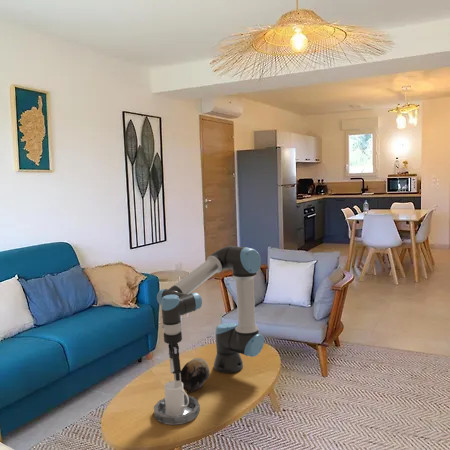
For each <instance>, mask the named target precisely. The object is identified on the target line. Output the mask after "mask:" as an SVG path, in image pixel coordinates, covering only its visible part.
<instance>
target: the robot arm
mask: <svg viewBox="0 0 450 450" xmlns="http://www.w3.org/2000/svg"><path fill="white" fill-rule="evenodd" d="M261 266H262V258H261V255H260V253H259V252H258V251H257V250H256V249H255V248H250V247H248V246H247V247H244V246H235V245H227V246H224V247H222V248H219V249H218V250H216V251H214V252H213V253H211V254H210V255H208V256H207V258H206V260H205V261H204V262H203V263H201V264H200V265H199V266H198V267H196V268H194V270H191V272H190V273H188V274H187V275H185V276H184V277H183V278H181V279H180V280H179V281H178V282H175V283H174V284H173V285H172V286H171V287H170V288H168V289H167V288H162V289H160V290H159V291H158V293H156V302H157V303H158V304H159V305H160V308H161V317H162V325H161V329H162V330H163V342H164V343H165V344H167V345H168V356H169V365H170V367H169V368H170V374H173V379H174V380H173V381H174V383H175V388H178V387H182V386H181V370H182V368H181V359H180V351H179V350H180V347H179V346H180V345H179V343H180V342H182V340H183V334H182V320H181V319H182V318H181V316H184V315H186V314H189V313H192V312H195V311H197V310H199V309H200V308H202V305H203V299H202V296H201V295H200V294H199V293H198V292H193V291H195V290H196V289H197V288H198V287H200V286H201V285H203V284H204V283H205V282H206V281H207V280H208V279H210V278H211V277H213V276H214V275H215V274H216V273H217V274H219V273H221V272H222V271H225V270H231V271H232V277H234V278H235V282H236V283H235V284H236V286H235V287H236V304H237V305H236V306H237V307H236V309H237V322H232V321H231V322H224V323H221V324H217V326H216V328H215V345H216V347H215V348H216V355H215V359H214V362H213V369H214V370H215V372H218V373H221V374H222V373H223V374H232V373H233V374H234V373H238V372H240V371H241V370H242V369H243V367H244V362H243V358H242V357H241V355H245V356H246V357H251V358H254V357H257V356H258V355H259V354H260V353H261V352H262V349H263V347H264V345H265V339H264V336H263V335H262V334H261V333H260V329H259V326H258V325H257V324H256V311H255V309H256V308H255V307H256V305H255V285H254V284H255V283H254V282H255V279H254V278H255V277H256V276H257V273H258V272H259V271H260V269H261Z"/></svg>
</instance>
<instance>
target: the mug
mask: <svg viewBox="0 0 450 450" xmlns="http://www.w3.org/2000/svg"><path fill="white" fill-rule="evenodd" d="M181 386H182V387H178V388H175V383H174V380H171V381H168V382H166V383H165V384H164V388H163V389H164V398H165V406H166V410H165V413H166V415H168V416H179V415H182V414H183V413H184V412H185V407H187V406H188V404H189V397H188V396H189V395H188V394H187V393H188V392H187V391H185V390H184V389H183V383H182V382H181ZM184 395H186V397H187V401H188V402H187V404H186V405H184Z"/></svg>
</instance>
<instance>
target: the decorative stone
mask: <svg viewBox="0 0 450 450" xmlns="http://www.w3.org/2000/svg"><path fill="white" fill-rule="evenodd" d="M210 374H211V373H210V366H209V363H208V362H207V361H206V359H204V358H202V357H195V358H193V359H191V360H189V361H188V362H186V364H184V365H183V367H182V368H181V382H182V383H183V389H184V391H185V392H186V393H194V392H196V391H198V390H200V389H201V388H202V386H203V385H204V383H205V382H206V381H207V380H208V379H209V378H210Z"/></svg>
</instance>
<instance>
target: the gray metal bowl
mask: <svg viewBox="0 0 450 450" xmlns="http://www.w3.org/2000/svg"><path fill="white" fill-rule="evenodd" d="M188 397H189V404H188V406H187V407H185V412H184V413H183V414H182V415H179V416H168V415H166V413H165V410H166V406H165V397H164V398H161V399H160V400H158V401H157V402H156V404H155V405H154V406H153V411H154V412H153V413H154V418H155V420H156V421H158V422H159V423H161V424H164V425H169V426H177V425H178V426H179V425H184V424H187V423H189V422H191V421H193V420H195V419H196V418H197V417H198V416H199V414H200V412H201V411H200V410H201V409H200V408H201V407H200V403H199V400H198V399H197V398H195V397H193V396H192V395H188ZM187 402H188V401H187V397H186V395H185V394H184V405H186V404H187Z"/></svg>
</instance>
